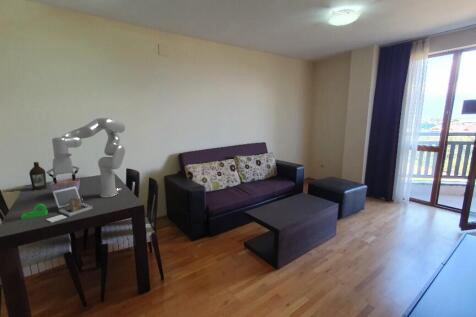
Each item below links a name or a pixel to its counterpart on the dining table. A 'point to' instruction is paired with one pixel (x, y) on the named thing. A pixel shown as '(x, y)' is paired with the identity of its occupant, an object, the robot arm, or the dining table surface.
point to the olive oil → (38, 177)
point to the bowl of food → (65, 184)
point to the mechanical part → (36, 212)
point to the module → (75, 204)
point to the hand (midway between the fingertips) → (64, 181)
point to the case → (64, 197)
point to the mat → (56, 218)
